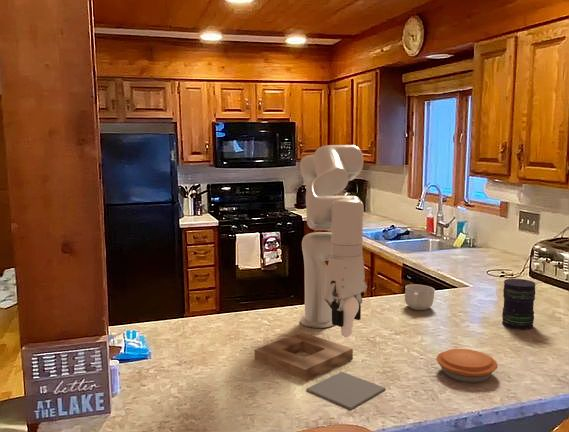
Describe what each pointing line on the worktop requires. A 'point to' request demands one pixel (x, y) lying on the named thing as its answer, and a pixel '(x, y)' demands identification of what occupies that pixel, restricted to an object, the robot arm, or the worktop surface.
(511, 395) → the worktop surface
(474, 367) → the pie
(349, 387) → the mat
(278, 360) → the holder
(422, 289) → the teacup
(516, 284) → the storage jar
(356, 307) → the lightbulb
